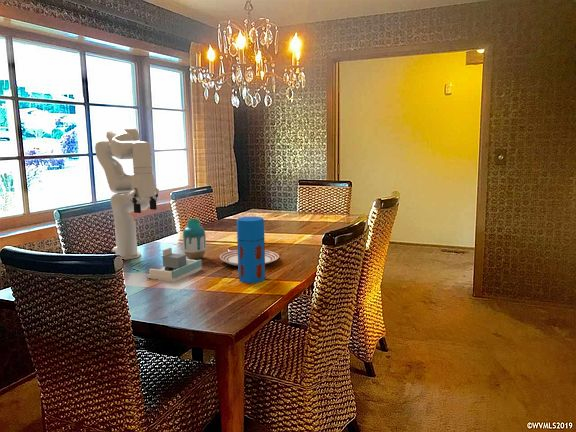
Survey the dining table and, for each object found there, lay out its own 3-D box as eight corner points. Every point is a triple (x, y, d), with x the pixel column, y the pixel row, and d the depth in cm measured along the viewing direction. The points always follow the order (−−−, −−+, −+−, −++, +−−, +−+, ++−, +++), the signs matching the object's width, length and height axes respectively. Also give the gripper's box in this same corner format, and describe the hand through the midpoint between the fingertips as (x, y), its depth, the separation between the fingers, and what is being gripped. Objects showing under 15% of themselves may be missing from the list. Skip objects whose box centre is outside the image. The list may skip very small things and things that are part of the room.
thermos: (265, 274, 192) (264, 216, 188) (265, 282, 182) (263, 220, 178) (239, 275, 192) (237, 216, 188) (237, 283, 182) (235, 221, 177)
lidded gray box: (163, 271, 195) (162, 250, 193) (171, 267, 200) (170, 247, 198) (178, 273, 191) (177, 252, 190) (186, 269, 196) (185, 249, 195)
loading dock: (147, 278, 190) (146, 267, 189) (176, 266, 207) (175, 256, 206) (174, 282, 184) (173, 271, 183) (201, 269, 201) (201, 259, 200)
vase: (184, 262, 214) (182, 221, 210) (183, 256, 224) (181, 218, 220) (207, 260, 216) (205, 220, 213) (205, 254, 226) (203, 216, 223)
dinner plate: (268, 252, 231) (268, 246, 230) (287, 266, 206) (287, 259, 205) (214, 258, 221) (213, 251, 221) (227, 273, 196) (227, 266, 195)
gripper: (150, 169, 203) (152, 207, 206) (121, 172, 188) (124, 213, 191) (163, 169, 200) (165, 208, 203) (135, 172, 185) (138, 214, 188)
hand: (145, 211), depth 197 cm, fingers open, 9 cm apart
